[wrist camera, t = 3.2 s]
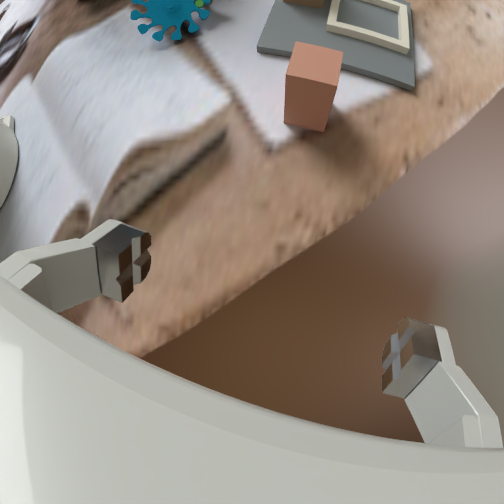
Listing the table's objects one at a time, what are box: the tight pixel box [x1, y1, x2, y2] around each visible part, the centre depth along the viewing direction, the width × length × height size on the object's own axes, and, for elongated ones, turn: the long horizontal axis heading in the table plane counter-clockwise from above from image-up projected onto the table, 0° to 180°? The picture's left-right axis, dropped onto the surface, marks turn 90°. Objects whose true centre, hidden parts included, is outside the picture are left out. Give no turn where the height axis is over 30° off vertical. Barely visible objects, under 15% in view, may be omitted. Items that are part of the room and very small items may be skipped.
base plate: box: [257, 0, 415, 91], centre depth 26 cm, size 18×18×7 cm
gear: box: [131, 0, 213, 42], centre depth 29 cm, size 11×6×10 cm
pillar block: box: [284, 41, 343, 132], centre depth 25 cm, size 4×4×8 cm
